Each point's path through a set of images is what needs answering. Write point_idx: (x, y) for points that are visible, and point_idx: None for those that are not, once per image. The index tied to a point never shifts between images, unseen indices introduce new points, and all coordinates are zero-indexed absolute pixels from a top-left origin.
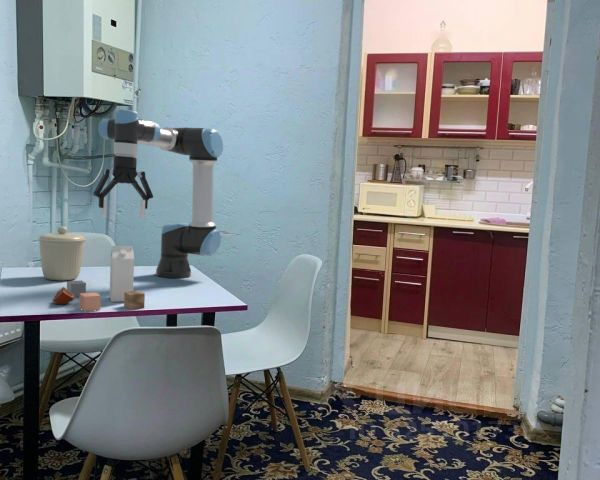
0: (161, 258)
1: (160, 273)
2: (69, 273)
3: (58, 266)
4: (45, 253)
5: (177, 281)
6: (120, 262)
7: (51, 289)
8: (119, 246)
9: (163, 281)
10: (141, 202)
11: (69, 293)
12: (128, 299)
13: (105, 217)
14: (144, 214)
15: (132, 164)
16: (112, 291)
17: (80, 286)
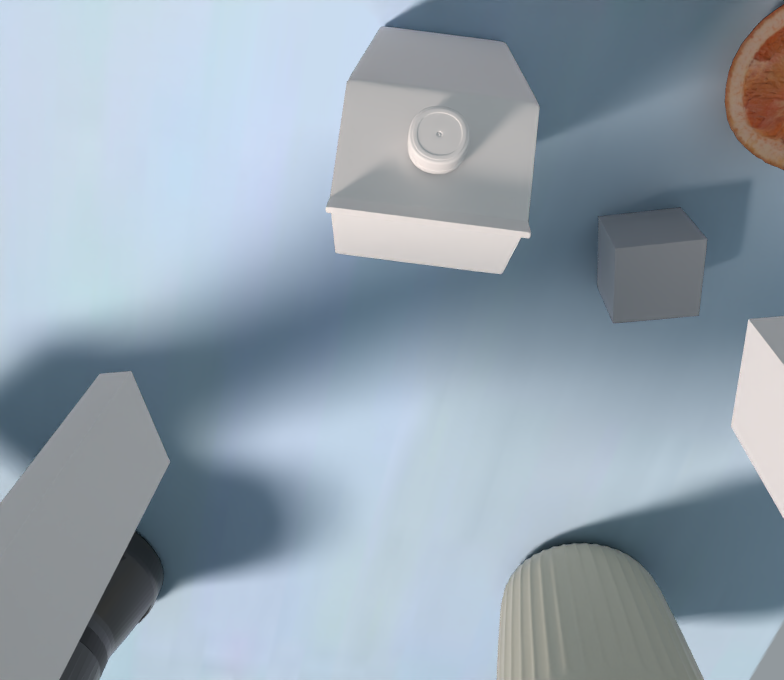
0: (109, 633)
1: (142, 555)
2: (567, 560)
3: (627, 590)
4: (698, 671)
5: None
6: (468, 87)
7: (695, 404)
8: (460, 221)
9: None
10: (25, 643)
11: (767, 83)
12: None
13: (760, 323)
14: (72, 412)
15: None
16: (506, 51)
17: (643, 237)
